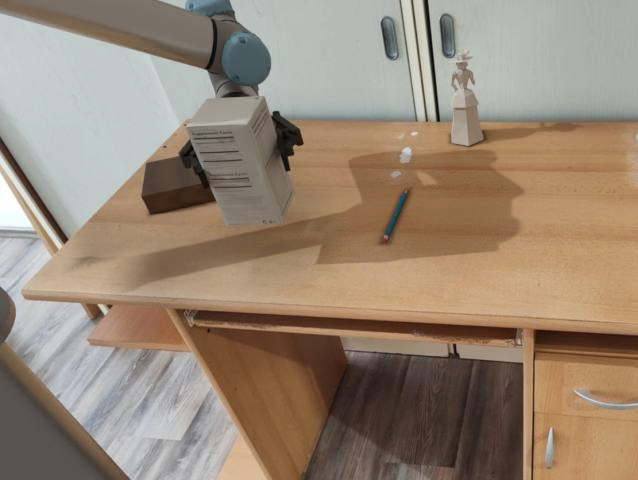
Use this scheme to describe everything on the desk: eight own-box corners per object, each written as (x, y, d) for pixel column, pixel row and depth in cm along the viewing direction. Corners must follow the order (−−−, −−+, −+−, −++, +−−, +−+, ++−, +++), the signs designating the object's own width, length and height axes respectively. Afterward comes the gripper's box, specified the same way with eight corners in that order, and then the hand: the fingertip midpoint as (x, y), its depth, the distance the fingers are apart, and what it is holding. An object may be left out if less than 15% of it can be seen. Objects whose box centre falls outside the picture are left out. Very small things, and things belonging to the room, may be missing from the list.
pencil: (382, 243, 102) (381, 240, 101) (405, 190, 113) (404, 187, 113) (386, 243, 102) (385, 240, 101) (409, 190, 113) (408, 187, 113)
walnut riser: (150, 214, 114) (140, 196, 111) (154, 180, 123) (145, 162, 121) (223, 198, 116) (215, 180, 113) (221, 165, 126) (214, 148, 123)
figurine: (479, 127, 129) (474, 40, 116) (486, 144, 124) (482, 54, 111) (448, 131, 129) (440, 45, 116) (453, 148, 123) (445, 59, 110)
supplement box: (243, 195, 99) (205, 96, 87) (296, 193, 99) (265, 93, 87) (225, 228, 93) (182, 126, 81) (282, 226, 92) (247, 123, 80)
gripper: (312, 120, 106) (329, 177, 91) (177, 147, 102) (173, 211, 87) (301, 78, 101) (318, 131, 86) (158, 104, 97) (150, 165, 82)
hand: (244, 171), depth 87 cm, fingers closed on supplement box, 11 cm apart
